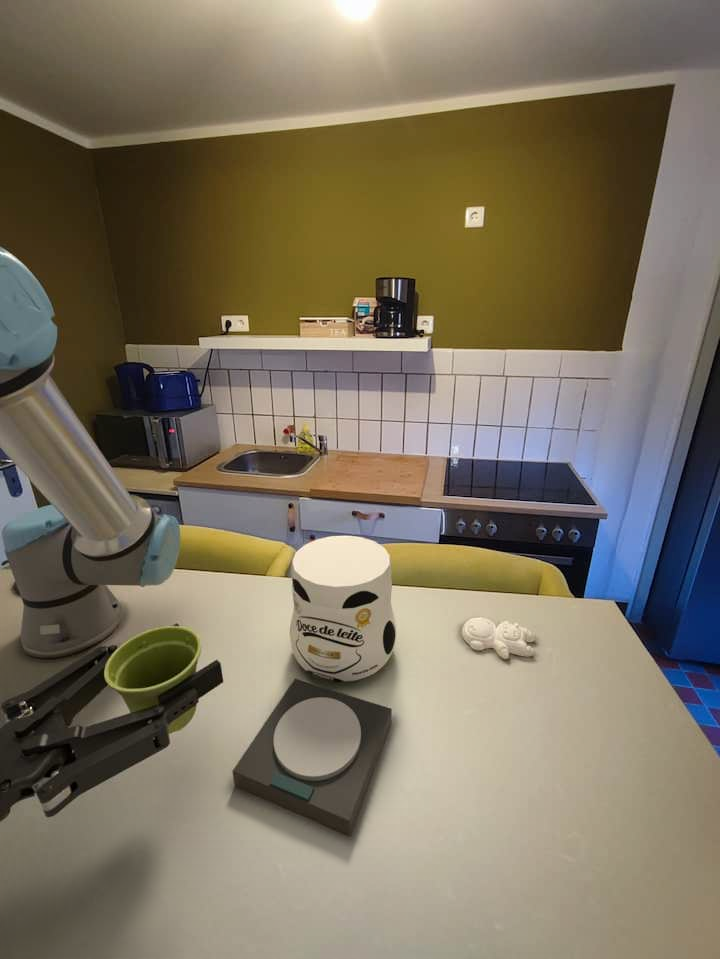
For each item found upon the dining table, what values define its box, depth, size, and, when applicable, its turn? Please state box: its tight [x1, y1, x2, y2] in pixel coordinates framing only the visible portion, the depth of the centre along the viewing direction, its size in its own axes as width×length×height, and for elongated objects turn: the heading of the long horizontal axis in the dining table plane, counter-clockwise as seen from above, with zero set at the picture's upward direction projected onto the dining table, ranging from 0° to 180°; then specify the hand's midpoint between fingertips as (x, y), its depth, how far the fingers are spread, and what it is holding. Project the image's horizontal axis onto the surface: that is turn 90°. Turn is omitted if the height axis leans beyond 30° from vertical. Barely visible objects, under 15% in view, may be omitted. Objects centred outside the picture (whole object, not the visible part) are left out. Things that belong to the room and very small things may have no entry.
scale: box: [231, 677, 393, 837], centre depth 55 cm, size 15×15×3 cm
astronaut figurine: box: [461, 616, 536, 660], centre depth 74 cm, size 9×12×3 cm
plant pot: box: [104, 625, 202, 735], centre depth 47 cm, size 9×9×9 cm
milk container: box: [289, 535, 397, 684], centre depth 69 cm, size 17×17×18 cm
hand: (198, 651), depth 50 cm, fingers closed on plant pot, 8 cm apart
